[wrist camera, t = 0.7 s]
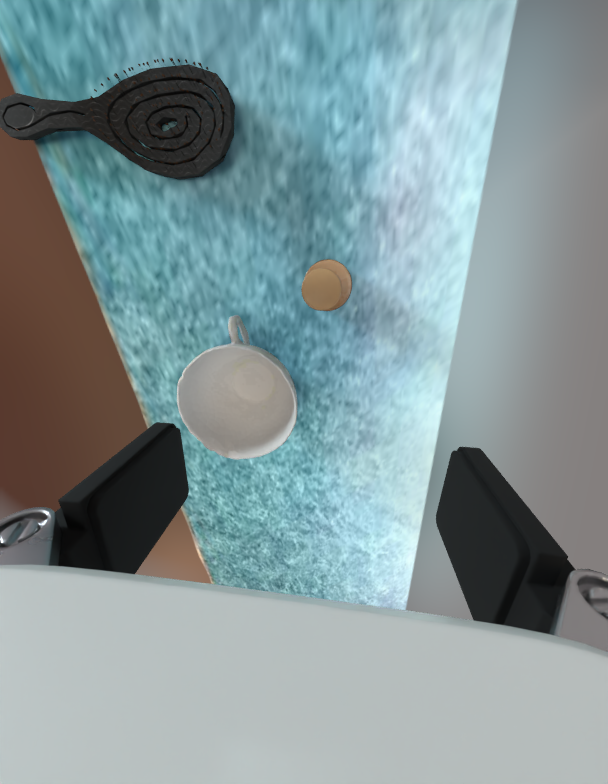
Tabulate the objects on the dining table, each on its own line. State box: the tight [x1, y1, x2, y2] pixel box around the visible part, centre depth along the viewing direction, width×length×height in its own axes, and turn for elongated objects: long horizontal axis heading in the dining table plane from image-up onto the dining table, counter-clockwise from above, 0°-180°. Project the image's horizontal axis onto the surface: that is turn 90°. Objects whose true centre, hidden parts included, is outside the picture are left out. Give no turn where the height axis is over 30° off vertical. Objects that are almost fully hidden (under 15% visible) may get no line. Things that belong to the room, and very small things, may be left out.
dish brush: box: [302, 259, 352, 311], centre depth 26 cm, size 5×5×14 cm
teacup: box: [177, 315, 297, 459], centre depth 33 cm, size 15×12×8 cm
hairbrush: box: [0, 58, 235, 179], centre depth 28 cm, size 8×4×25 cm
